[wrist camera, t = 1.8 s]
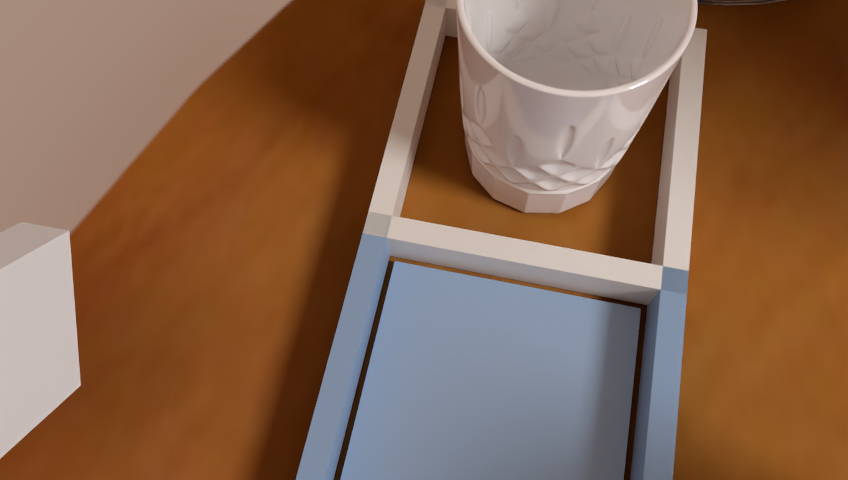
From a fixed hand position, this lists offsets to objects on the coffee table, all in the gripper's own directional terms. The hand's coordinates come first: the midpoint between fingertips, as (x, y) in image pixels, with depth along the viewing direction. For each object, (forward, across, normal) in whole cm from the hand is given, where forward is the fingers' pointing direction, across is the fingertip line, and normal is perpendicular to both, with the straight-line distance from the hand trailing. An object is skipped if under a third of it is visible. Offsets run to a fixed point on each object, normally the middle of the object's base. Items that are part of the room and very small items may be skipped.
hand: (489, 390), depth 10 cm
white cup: (+24, +1, -2) cm, 24 cm away
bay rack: (+19, +1, -6) cm, 20 cm away
